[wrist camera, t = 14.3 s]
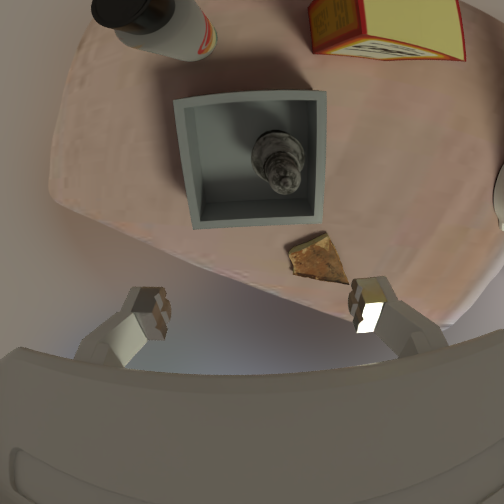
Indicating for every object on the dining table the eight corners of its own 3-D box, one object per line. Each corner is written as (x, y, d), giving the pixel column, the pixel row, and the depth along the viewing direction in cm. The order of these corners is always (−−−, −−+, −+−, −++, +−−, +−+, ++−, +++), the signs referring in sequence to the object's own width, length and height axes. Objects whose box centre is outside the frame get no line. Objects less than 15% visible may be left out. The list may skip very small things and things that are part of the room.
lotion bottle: (224, 24, 23) (186, -46, 6) (210, 65, 26) (151, 43, 9) (177, 18, 22) (92, -38, 5) (165, 58, 25) (63, 45, 8)
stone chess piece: (297, 124, 29) (321, 147, 19) (301, 170, 32) (324, 215, 23) (247, 130, 30) (244, 156, 20) (254, 176, 33) (255, 223, 23)
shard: (347, 279, 45) (349, 286, 43) (306, 295, 47) (307, 302, 45) (328, 229, 39) (330, 236, 38) (281, 250, 41) (282, 257, 40)
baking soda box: (381, 16, 21) (459, -7, 7) (385, 61, 24) (469, 61, 11) (307, 7, 21) (351, -43, 8) (312, 54, 25) (364, 33, 12)
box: (313, 89, 27) (326, 91, 22) (312, 201, 36) (322, 223, 31) (186, 97, 28) (172, 100, 23) (201, 207, 36) (193, 229, 32)
